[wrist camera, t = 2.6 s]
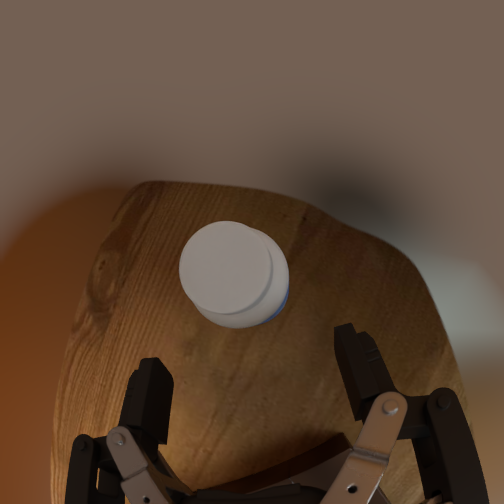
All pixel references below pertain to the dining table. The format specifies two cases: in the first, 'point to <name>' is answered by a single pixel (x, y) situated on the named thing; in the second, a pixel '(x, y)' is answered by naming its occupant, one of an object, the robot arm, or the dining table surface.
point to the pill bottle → (234, 274)
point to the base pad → (303, 471)
